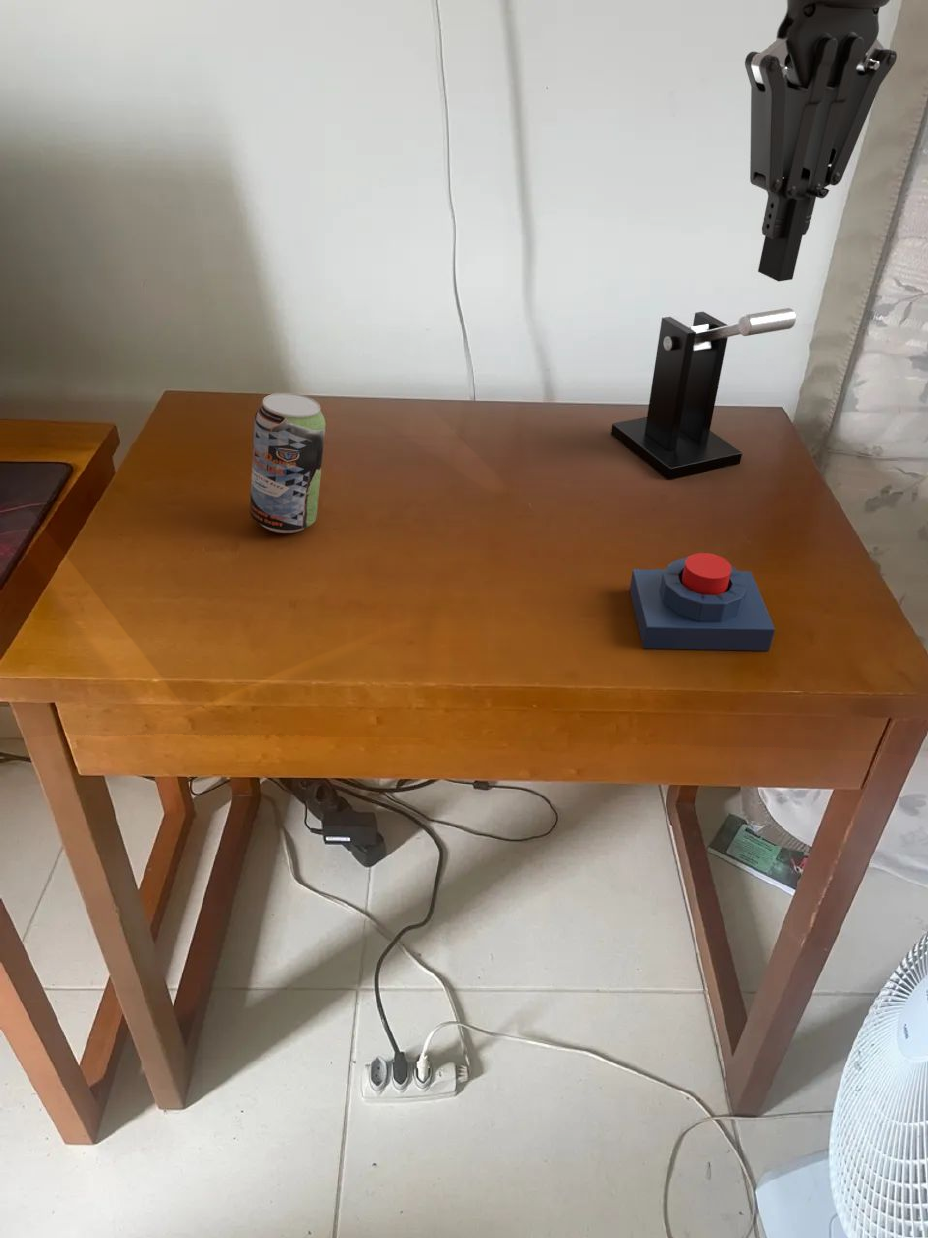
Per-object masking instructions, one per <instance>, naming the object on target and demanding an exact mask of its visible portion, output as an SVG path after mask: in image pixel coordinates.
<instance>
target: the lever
mask: <svg viewBox="0 0 928 1238" xmlns="http://www.w3.org/2000/svg"><path fill="white" fill-rule="evenodd" d="M796 320H797V318H796V312H795V311H794V310H793V308H791V307H786V308H785V307H784V308H780V309H772V310H766V311H761V312H754V313H748V314H743V315H741V316H740V317H739V319H738V321H737V322H735V323H732V324H727V326H723V327H719V328H715V329H711V330H709V324H704V325H698V326H693V325H692V326H688V327H689V328H690V329H692V330H694V331H695V332H696V336H695V342H694V348H693V353H694V352H699V351H703V350H708V349H711V341H713V340H718V339H722V338H726V337H728V338H730V337H734V336H739V335H741V336H743V337H749V336H755V335H760V334H761V335H762V334H765V333H773V332H778V331H784V330H790V329H792V328H793V327H794V326H795V324H796Z"/></svg>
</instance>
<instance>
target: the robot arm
mask: <svg viewBox="0 0 928 1238" xmlns="http://www.w3.org/2000/svg"><path fill="white" fill-rule="evenodd" d="M785 1H786V12H785V14H784V16H783V18H782V21H780V24H779V26H778V28H777V30H776V36H775V40H774V41H773V42H771V43H770V44H769V45H768V46H767V47H766V48H765V49H764V50H762V51H761V52H758V51H751V52H749V53H748V54H747V55H746V57H745V60H744V67H745V70H746V73H747V77H748V80H749V84H750V89H751V90H750V157H749V158H750V161H749V162H750V165H749V166H750V167H749V168H750V169H749V171H750V173H749V176H750V177H749V181H750V183H751V185H753V186H755V187H758V188H760V189H762V190H765V191H766V192H767V201H766V205H765V210H764V216H763V221H762V226H761V233H762V235H763V236H764V240H763V244H762V249H761V254H760V260H759V264H758V270H757V272H758V273H760V274H761V275H763V276H767V277H768V278H770V279H772V280H774V281H776V282H784V281H792V280H793V278H794V275H795V270H796V266H797V261H798V257H799V252H800V248H801V244H802V240H803V236H806V235H807V233H808V230H809V229H810V225H811V220H812V215H813V212H814V208H815V203H816V199H817V198H818V199H825V198H826V197H827V196H828V194H829V192H830V189H828V188H827V187H828V186H830V185H831V186H837V185H839V184H840V183H841V181H842V179H843V176H844V174H845V171H846V169H847V166H848V164H849V161H850V159H851V157H852V155H853V152H854V149H855V147H856V145H857V143H858V139H859V138H860V135H861V132H862V131H863V128H864V125H865V123H866V121H867V117H868V115H869V112H870V111H871V108H872V106H873V104H874V101H875V99H876V96H877V94H878V91H879V89H880V86H881V84H883V82H884V80H885V79H886V77H887V76H888V74H889V73H890V71H891V70H892V68H893V67H894V65H896V62H897V59H898V54H897V52H896V50H893V49H888V48H885V47H884V46H883V45H882V44H881V42H880V41H879V39H878V36H879V32H880V23H879V12H880V9H881V8H882V7H884V6H886V5H888V4H889V2H890V1H891V0H785Z"/></svg>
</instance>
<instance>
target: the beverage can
mask: <svg viewBox="0 0 928 1238" xmlns="http://www.w3.org/2000/svg"><path fill="white" fill-rule="evenodd" d="M325 433H326V419H325V416H324V414H323V413H322V411H321V405H320V403H319V402H318V401H317V400H315V399H313V398H311V397H309V396H306V395H303V394H299V393H293V392H292V393H291V392H277V393H271V394H269V395H266V396H264V398H263V399H262V404H261V405H260V406H259V407H258V408H257V410H256V412H255V414H254V426H253V444H252V462H251V463H252V464H251V479H250V480H251V483H250V484H251V485H250V499H249V500H250V501H249V514H250V516H251V517H250V518H252V519H253V520H254V521H255V522H256V523H258V524H259V525H260V526H261V527H263V528H265V529H266V530H268V531H271V532H273V533H274V532H275V533H280V534H281V533H282V534H292V533H297V532H300V531H303V530H305V529H306V528H308V527H311V526H312V525H313V524H315V522H316V520H317V517H318V507H319V496H320V485H321V475H322V466H323V465H322V463H323V454H324V445H325Z"/></svg>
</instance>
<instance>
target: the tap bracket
mask: <svg viewBox="0 0 928 1238" xmlns="http://www.w3.org/2000/svg"><path fill="white" fill-rule="evenodd" d="M704 324H709V330H711V329H715V328H719V327H723V326H727V325H728V324H726V323H725V322H723V321H721V320H719V319H717V318H716V317H714V316H712V315H710V314H708V313H707V312H705V311H698V312H695V313H694V318H693V324H692V326H698V325H704ZM689 327H690V326H688V325H686V324H683V323H682V322H680V321H678V320H677V319H675V318H673V317H671V316H665V317H661V322H660V329H659V335H658V340H657V341H658V342H657V347H656V355H655V362H654V368H653V373H652V374H653V375H652V381H651V388H650V395H649V402H648V407H647V413H646V414H647V416H643V417H638V418H634V419H627V420H623V421H618V422H613V423H612V424H611V429H610V435H611V436H612V437H614V438H615V439H616V440H618V441H619V442H620V443H621V444H623V445H624V446H625V447H626V448H627V449H629V450H630V451H632V452H633V453H634V454H635V455H637V456H638V457H639V458H640V459H642V460H643V461H644V462H645V463H646V464H648V465H649V466H651V468H653V469H654V470H655V471H657V472H658V474H660V475H662V476H663V477H664V478H665V479H667V480H674V479H678V478H683V477H687V476H691V475H695V474H700V473H704V472H710V471H714V470H718V469H722V468H727V467H731V466H736V465H740V464H741V460H742V456H743V452H742V451H740V450H739V449H738V448H736V447H735V446H734V445H731V444H730V443H729V442H727V441H726V440H725V439H723V438H722V437H721V436H719V435H717V434H716V433H714V432H713V431H711V428H712V427H711V426H712V421H713V416H714V410H715V405H716V400H717V395H718V392H719V391H718V390H719V385H720V379H721V375H722V370H723V364H724V359H725V354H726V349H727V344H728V338H729V337H726V338H722V339H718V340H713V341H711V349H708V350H703V351H699V352H694V353H693V348H694V342H695V336H696V332H695V331H694V330H692V329H690V328H689Z"/></svg>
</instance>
